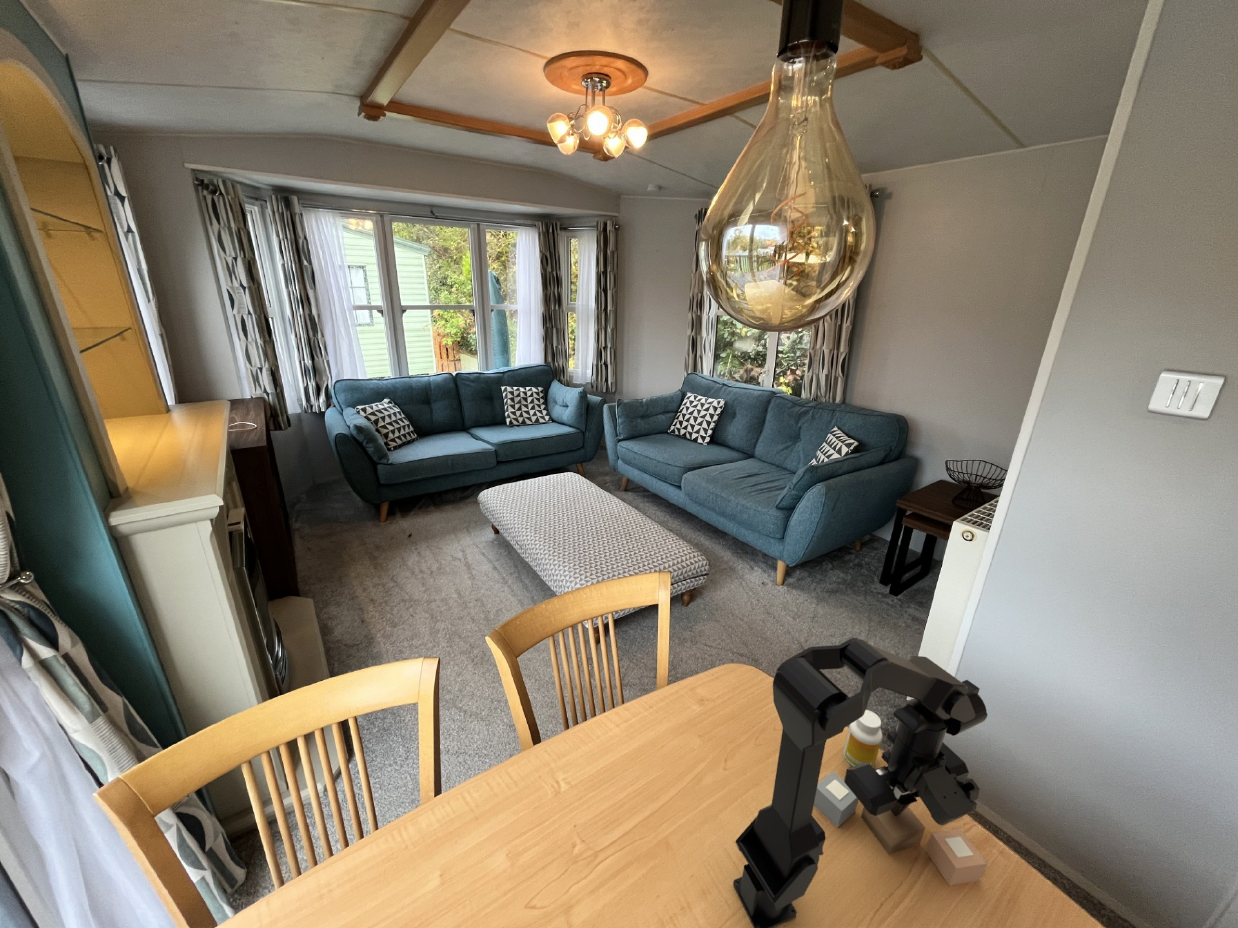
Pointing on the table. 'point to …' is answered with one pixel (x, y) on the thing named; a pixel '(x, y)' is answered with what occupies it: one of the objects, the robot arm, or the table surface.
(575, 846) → the table surface
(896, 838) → the walnut block
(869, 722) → the supplement bottle
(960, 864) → the tan cream-patch box
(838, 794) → the grey cream-patch block
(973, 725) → the robot arm
